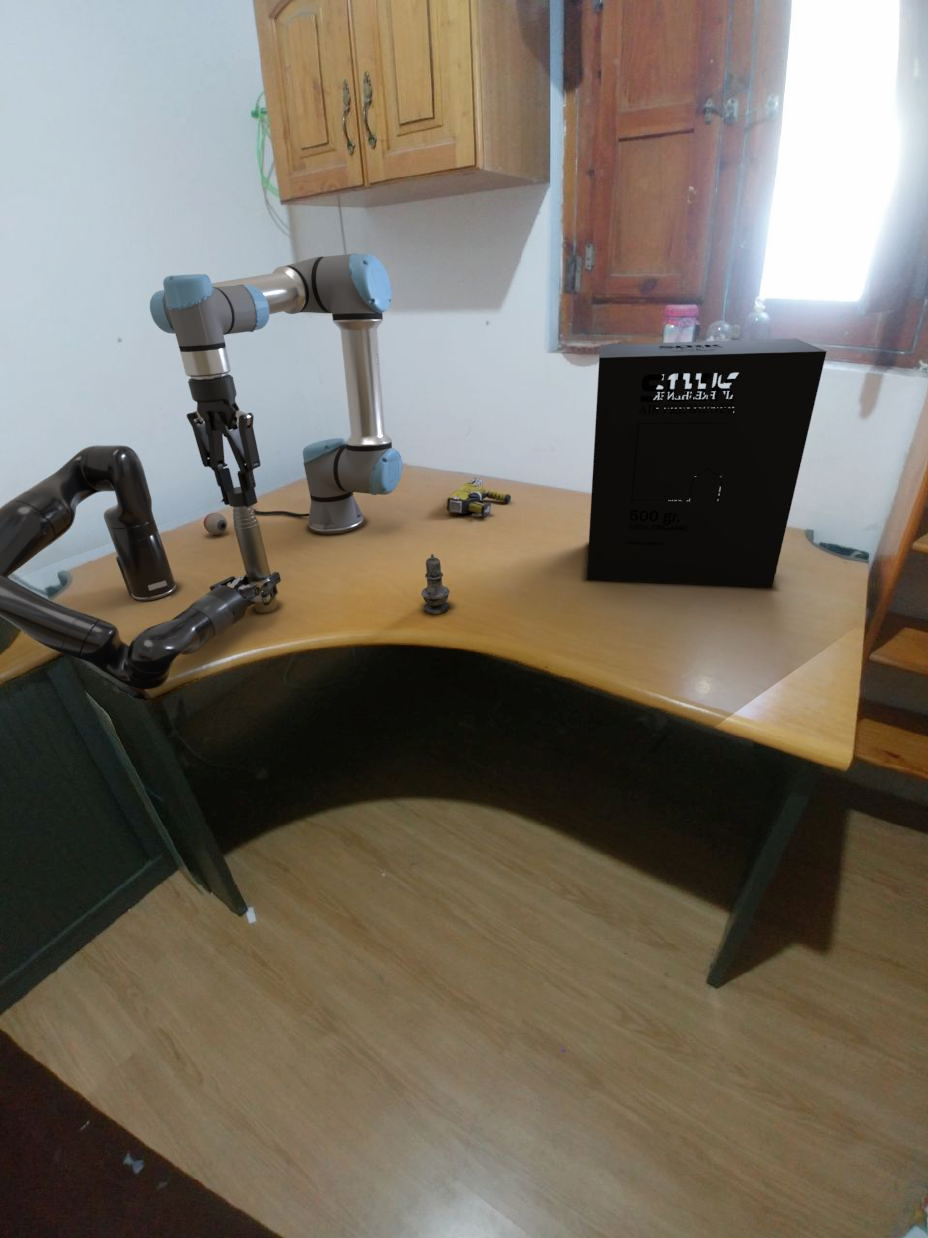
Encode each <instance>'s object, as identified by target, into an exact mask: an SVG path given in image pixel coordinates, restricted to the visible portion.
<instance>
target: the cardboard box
mask: <svg viewBox="0 0 928 1238" xmlns="http://www.w3.org/2000/svg"><path fill="white" fill-rule="evenodd" d="M827 352H828V351H827V350H824V349H822V348H820V347H818V346H815V345H813V344H811V343H808V342H806V341H802V340H801V339H799V338H768V339H766V338H765V339H737V340H736V339H735V340H709V341H708V340H707V341H705V340H703V341H675V342H672V341H671V342H648V343H647V342H646V343H645V342H644V343H643V342H642V343H616V344H615V343H614V344H612V343H611V344H600V348H599V355H598V356H599V358H598V370H597V371H598V372H597V390H596V391H597V392H596V409H595V410H596V411H595V426H594V445H593V459H592V460H593V461H592V462H593V463H592V479H591V497H590V515H589V532H588V533H589V535H588V547H587V548H588V549H587V568H586V580H588V581H611V582H635V583H655V584H657V583H658V584H675V585H676V584H679V585H698V586H699V585H703V586H725V587H743V588H744V587H745V588H746V587H747V588H768V589H773V586H774V582H775V578H776V573H777V569H778V565H779V560H780V555H781V550H782V548H783V543H784V540H785V539H784V538H785V534H786V530H787V525H788V521H789V517H790V513H791V512H790V511H791V509H792V504H793V499H794V496H795V490H796V486H797V483H798V477H799V474H800V469H801V465H802V461H803V456H804V451H805V447H806V444H807V443H806V442H807V439H808V434H809V429H810V425H811V421H812V416H813V412H814V408H815V404H816V400H817V395H818V391H819V387H820V382H821V378H822V373H823V368H824V365H825V360H826V356H827ZM685 374H689V378H688V385H690V388H686V384H687V379H685V378H684V375H685ZM699 374H700V379H699V378H697V375H699ZM715 374H716V380H715V384H714V386H713V383H714V378H715ZM731 374H736V376H735V378H729V377H730V376H731ZM672 375H677V378H676V379H675V380H674V384H673V385H674V387H673V388H671V385H672V379H671V378H670V377H671V376H672ZM719 379H720V381H719ZM700 384H701V385H705V387H704V388H699V385H700ZM719 384H720V385H724V384H729V387H720V386H719ZM659 386H661V387H662V388H658V387H659Z"/></svg>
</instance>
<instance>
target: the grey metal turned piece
mask: <svg viewBox="0 0 928 1238" xmlns="http://www.w3.org/2000/svg"><path fill="white" fill-rule="evenodd" d="M425 570H426V573H425V575H424V578H426V587H424V588H423V589H422V590H421V591H420V595H421V596H422V598H423V600H424V602H425V604H424V606H423V610H424V611H425V612H426V613H429V614H442V613H445V612H447V611H448V610H449V609H450V604H449V603H448V599H449V595H450V593H451V590H450V589H449V588H448V586H445V585H443V576H444V573H443V572H442V568H441V560H440V559H439V558H438V557H435V555H434V554H433V553H432V554H431V555H430V557H429V558H427V559H426V561H425Z"/></svg>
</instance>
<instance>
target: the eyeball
mask: <svg viewBox="0 0 928 1238" xmlns="http://www.w3.org/2000/svg"><path fill="white" fill-rule="evenodd" d="M203 526H204V529H205V530H206V531H207V532H208V533H209V534H211V535H215V536H217V535H221V534H223V533H225V532H226V530H227V528H228V522H227V518H226V517H225V516H224V515H223V514H222V513H219V512H211V513H208V514H207V515H206V516H205V517H204V519H203Z"/></svg>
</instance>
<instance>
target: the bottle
mask: <svg viewBox="0 0 928 1238" xmlns="http://www.w3.org/2000/svg"><path fill="white" fill-rule="evenodd" d="M232 508H233V509H232V516H233V517H232V520H233V528H234V532H235V537H236V540H237V544H238V548H239V551H240V556H241V560H242V563H243V566H244V567H243V568H244V571H245V575H247V579H248V583H249V584H251V583H253V582H255V581H257V582H261V581H263V580H265V579H266V578H267V577H269V576H270V575H271V574H272V573H271V570H270V565H269V561H268V556H267V553H266V548H265V543H264V540H263V536H262V532H261V527H260V524H259V523H260V522H259V520H258V517H257V514H256V513H254V510H255V509H253V505H252V506H250V507H245V506H242V507H232ZM254 588H255V590H256V587H254ZM262 589H263V590H264V589H265V585H263V586H262ZM256 594H257V591H256ZM277 599H278V598H277V595H276V596H275V597H274V599H273V600H272V602H271V603H270V604H269V605H267V606H265V605H263V602H256V603H255V604H254V605H253V606H254V609H255V611H256V612H257V613H261V614H264V613H266V614H267V613H270V612H273V611H275V610H276V609H278V607H279V604H278V600H277Z"/></svg>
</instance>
